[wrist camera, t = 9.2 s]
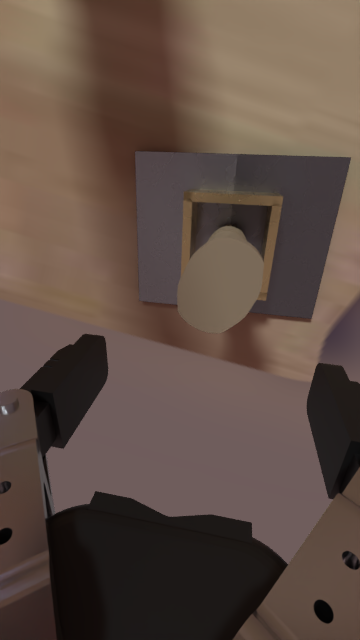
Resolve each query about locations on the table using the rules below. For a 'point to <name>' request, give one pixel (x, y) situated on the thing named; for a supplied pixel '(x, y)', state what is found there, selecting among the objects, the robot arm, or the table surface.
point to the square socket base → (238, 219)
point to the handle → (220, 282)
